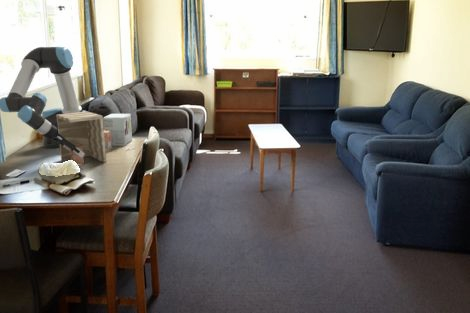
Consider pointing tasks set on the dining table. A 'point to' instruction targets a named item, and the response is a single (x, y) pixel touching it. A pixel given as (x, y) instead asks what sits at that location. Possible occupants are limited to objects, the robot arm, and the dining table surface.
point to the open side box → (83, 134)
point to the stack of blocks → (107, 141)
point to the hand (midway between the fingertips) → (78, 153)
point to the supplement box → (118, 128)
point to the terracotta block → (77, 157)
